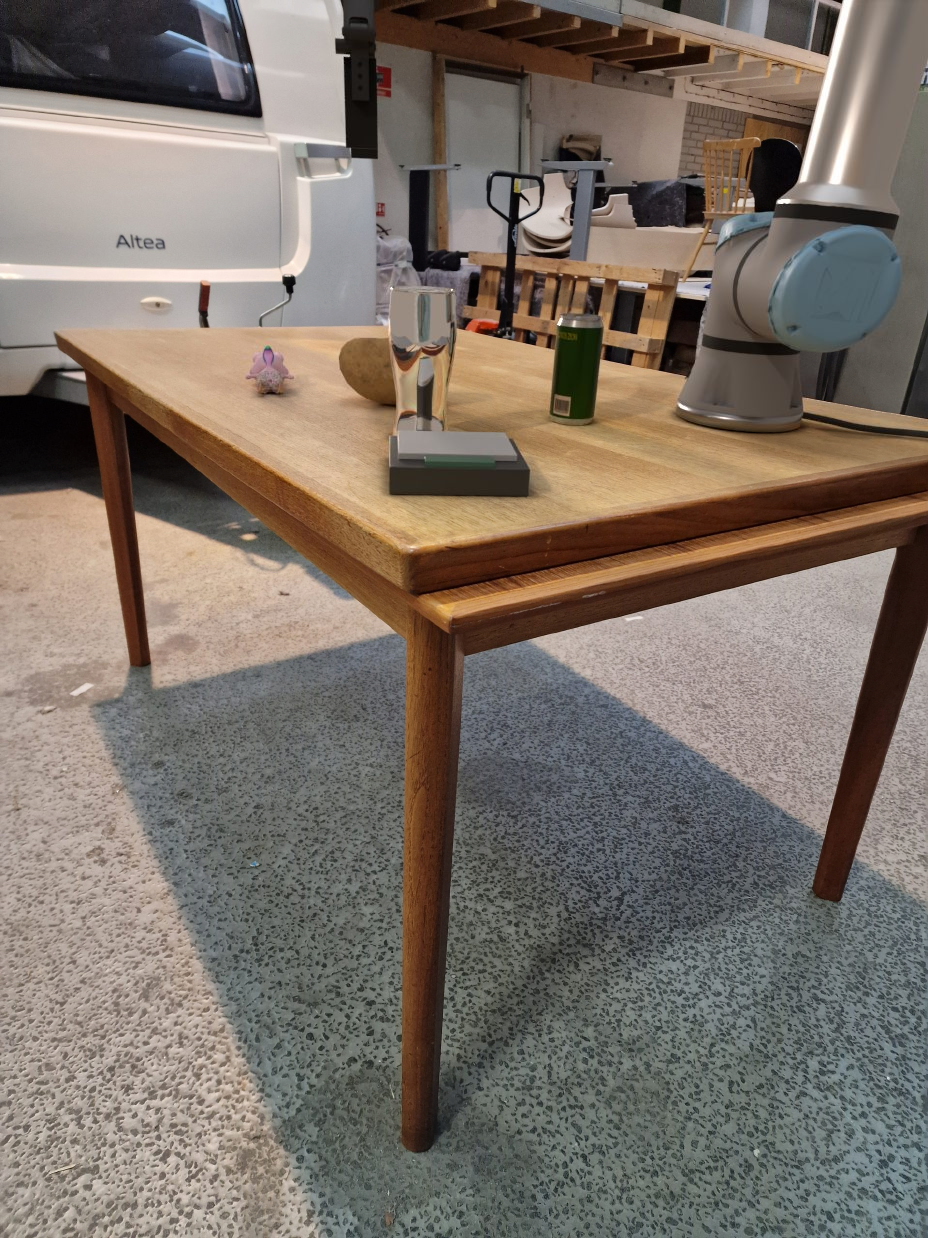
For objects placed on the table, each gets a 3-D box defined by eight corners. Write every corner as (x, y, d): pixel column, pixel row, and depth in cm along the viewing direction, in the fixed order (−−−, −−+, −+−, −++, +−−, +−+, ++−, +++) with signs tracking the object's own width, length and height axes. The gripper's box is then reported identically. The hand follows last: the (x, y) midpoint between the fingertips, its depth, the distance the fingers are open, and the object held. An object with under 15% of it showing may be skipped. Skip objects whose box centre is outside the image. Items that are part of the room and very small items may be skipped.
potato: (456, 411, 101) (458, 343, 97) (341, 411, 98) (339, 341, 95) (444, 396, 110) (446, 333, 106) (338, 395, 107) (336, 330, 104)
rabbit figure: (296, 406, 106) (290, 367, 118) (294, 360, 102) (288, 325, 114) (246, 406, 104) (245, 367, 116) (243, 360, 101) (242, 324, 113)
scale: (511, 462, 81) (513, 432, 79) (528, 496, 71) (530, 462, 70) (389, 460, 80) (389, 429, 78) (389, 494, 70) (389, 459, 68)
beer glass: (445, 448, 84) (450, 292, 78) (380, 442, 86) (379, 288, 79) (458, 433, 91) (464, 288, 84) (398, 428, 92) (398, 284, 85)
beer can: (584, 427, 96) (595, 319, 91) (541, 421, 98) (550, 315, 93) (599, 419, 100) (611, 315, 95) (558, 413, 102) (568, 311, 97)
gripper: (321, -94, 78) (330, 160, 88) (297, -218, 56) (313, 140, 65) (399, -89, 79) (400, 162, 88) (407, -209, 57) (407, 144, 66)
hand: (363, 154), depth 77 cm, fingers open, 13 cm apart
